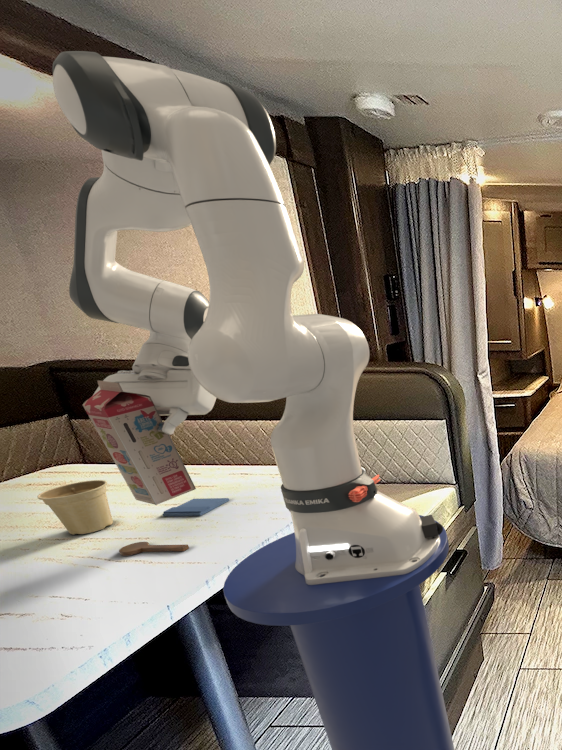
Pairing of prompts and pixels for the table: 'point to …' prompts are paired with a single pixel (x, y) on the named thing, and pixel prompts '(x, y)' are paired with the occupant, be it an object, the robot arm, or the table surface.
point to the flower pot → (80, 506)
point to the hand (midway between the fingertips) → (139, 433)
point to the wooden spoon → (149, 548)
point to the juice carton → (138, 444)
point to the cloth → (195, 507)
